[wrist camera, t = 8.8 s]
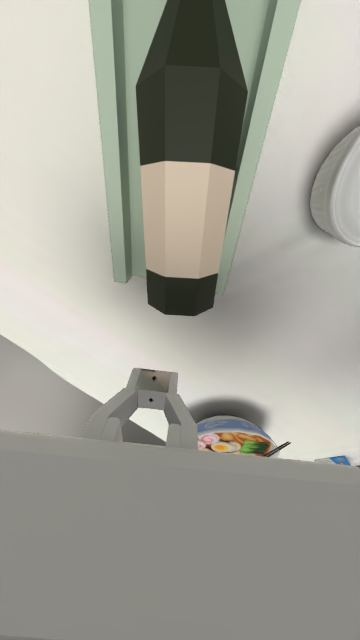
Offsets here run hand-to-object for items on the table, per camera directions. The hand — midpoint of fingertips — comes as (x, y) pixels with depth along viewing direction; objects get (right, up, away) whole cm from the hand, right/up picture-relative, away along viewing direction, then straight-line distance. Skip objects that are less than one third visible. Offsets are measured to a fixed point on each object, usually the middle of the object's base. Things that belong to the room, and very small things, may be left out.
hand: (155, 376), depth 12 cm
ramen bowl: (+12, -23, +34) cm, 43 cm away
